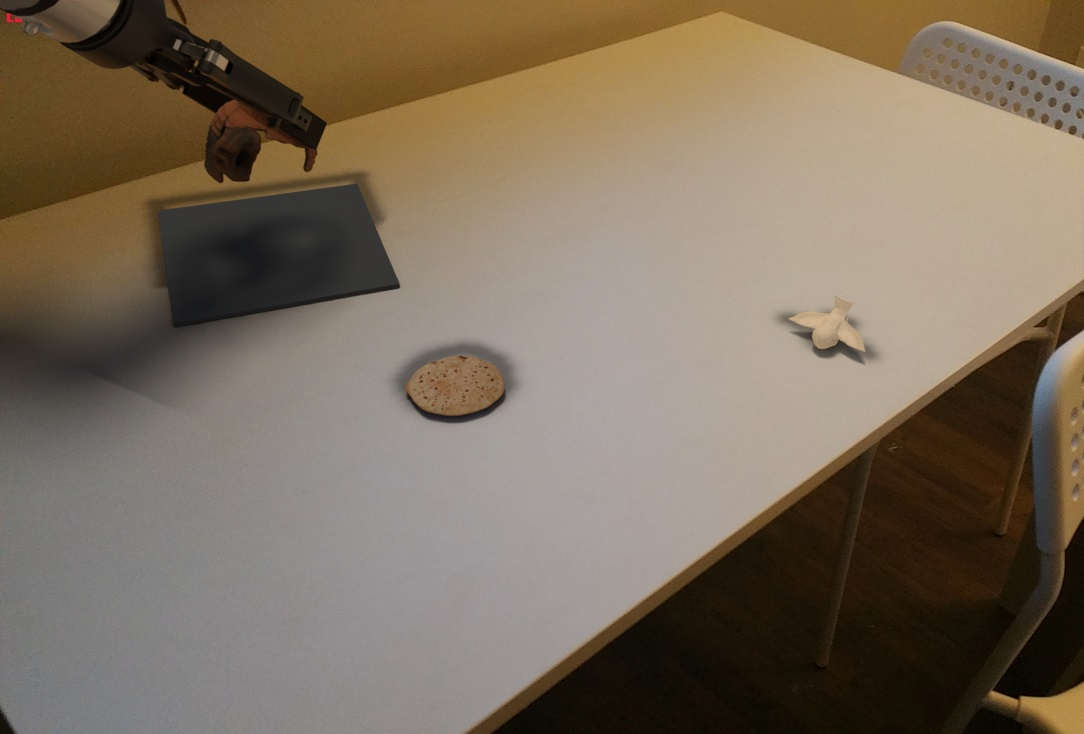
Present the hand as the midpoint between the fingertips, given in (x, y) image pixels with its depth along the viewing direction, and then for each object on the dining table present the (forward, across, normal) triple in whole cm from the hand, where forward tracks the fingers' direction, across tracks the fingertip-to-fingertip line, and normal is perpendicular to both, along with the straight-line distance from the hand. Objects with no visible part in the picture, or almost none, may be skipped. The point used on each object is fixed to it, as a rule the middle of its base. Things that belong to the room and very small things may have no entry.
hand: (277, 122), depth 92 cm
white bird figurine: (+17, +53, -1) cm, 55 cm away
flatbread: (0, +27, -17) cm, 32 cm away
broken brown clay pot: (0, 0, -5) cm, 5 cm away
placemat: (+7, 0, -11) cm, 13 cm away
